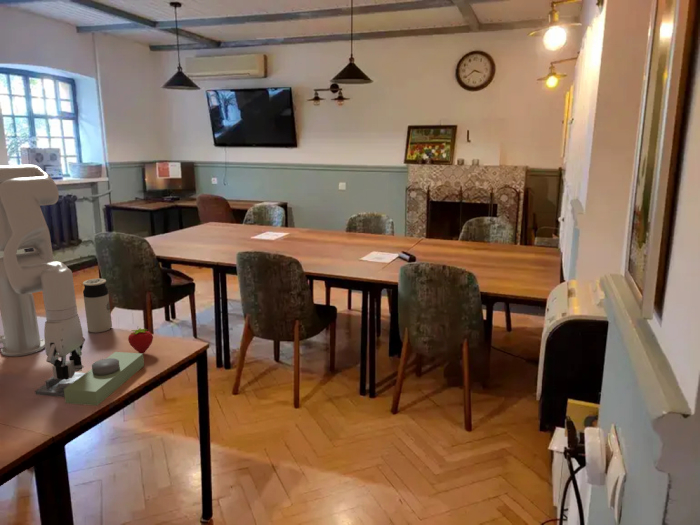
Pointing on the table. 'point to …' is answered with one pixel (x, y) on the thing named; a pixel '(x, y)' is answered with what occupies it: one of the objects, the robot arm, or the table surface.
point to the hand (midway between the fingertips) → (69, 373)
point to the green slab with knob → (103, 378)
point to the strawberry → (140, 340)
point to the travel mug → (97, 305)
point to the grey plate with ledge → (57, 386)
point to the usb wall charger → (70, 369)
